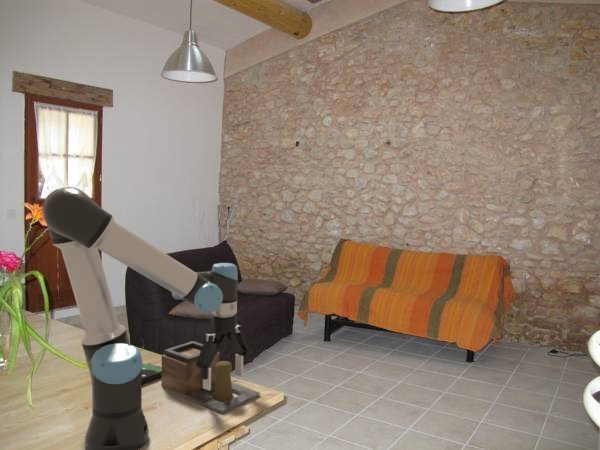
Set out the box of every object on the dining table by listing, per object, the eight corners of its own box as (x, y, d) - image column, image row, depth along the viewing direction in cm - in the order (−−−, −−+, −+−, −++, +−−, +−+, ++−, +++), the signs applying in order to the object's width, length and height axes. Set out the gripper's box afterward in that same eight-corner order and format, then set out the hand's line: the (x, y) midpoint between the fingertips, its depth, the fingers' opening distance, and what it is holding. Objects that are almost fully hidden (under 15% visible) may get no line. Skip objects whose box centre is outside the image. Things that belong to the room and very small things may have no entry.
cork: (222, 403, 147) (223, 367, 146) (209, 397, 150) (209, 362, 149) (237, 396, 152) (237, 362, 151) (223, 391, 155) (223, 357, 154)
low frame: (222, 414, 140) (222, 410, 140) (185, 398, 149) (185, 394, 149) (259, 395, 153) (259, 392, 152) (223, 381, 162) (223, 378, 162)
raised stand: (186, 396, 151) (186, 359, 150) (161, 385, 158) (161, 350, 157) (219, 382, 162) (219, 348, 161) (195, 372, 169) (195, 340, 168)
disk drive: (130, 391, 154) (168, 376, 166) (130, 383, 154) (167, 368, 166) (110, 383, 160) (148, 369, 172) (110, 374, 160) (148, 361, 172)
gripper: (201, 325, 136) (200, 399, 138) (261, 308, 156) (259, 372, 158) (183, 320, 141) (183, 391, 143) (243, 304, 161) (242, 367, 163)
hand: (223, 381), depth 151 cm, fingers open, 13 cm apart
